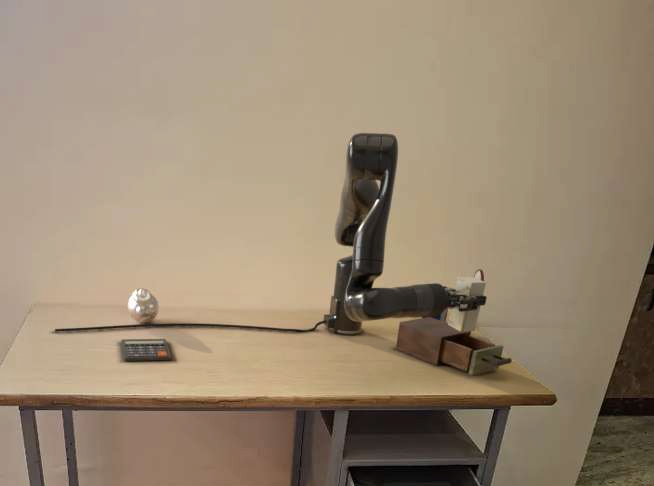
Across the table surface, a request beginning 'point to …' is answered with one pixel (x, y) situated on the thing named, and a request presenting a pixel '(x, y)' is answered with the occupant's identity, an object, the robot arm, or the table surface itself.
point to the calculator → (145, 349)
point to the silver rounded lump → (143, 306)
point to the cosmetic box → (466, 318)
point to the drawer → (472, 354)
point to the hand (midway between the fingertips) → (474, 296)
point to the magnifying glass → (479, 275)
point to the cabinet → (425, 338)
